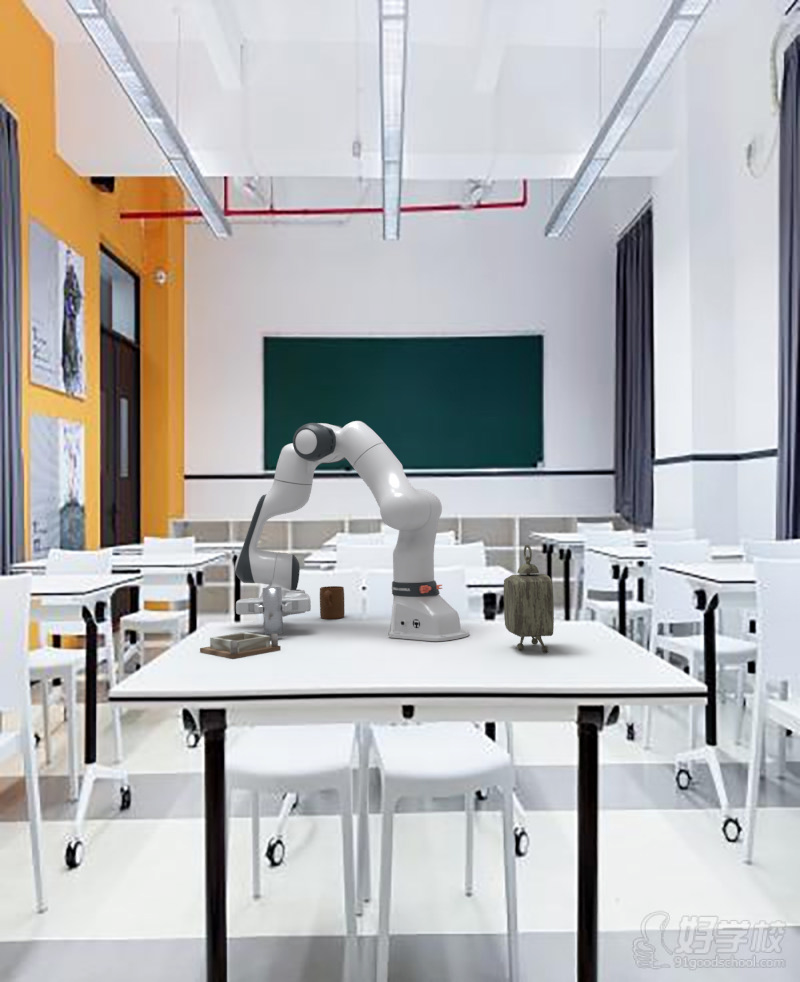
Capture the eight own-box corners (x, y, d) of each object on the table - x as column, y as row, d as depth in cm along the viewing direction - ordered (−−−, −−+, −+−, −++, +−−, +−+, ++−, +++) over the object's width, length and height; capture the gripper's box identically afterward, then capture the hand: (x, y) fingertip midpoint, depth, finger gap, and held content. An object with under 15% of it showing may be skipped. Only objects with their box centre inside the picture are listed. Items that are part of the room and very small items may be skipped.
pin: (286, 632, 228) (285, 587, 228) (271, 635, 224) (270, 589, 224) (275, 630, 231) (273, 586, 231) (260, 633, 227) (258, 588, 228)
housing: (280, 650, 211) (280, 633, 211) (233, 658, 201) (232, 641, 201) (246, 644, 220) (246, 628, 220) (200, 652, 210) (199, 635, 210)
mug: (338, 621, 256) (338, 590, 256) (314, 621, 257) (313, 590, 257) (346, 615, 268) (346, 585, 268) (323, 616, 269) (322, 586, 269)
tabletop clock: (554, 654, 197) (552, 546, 197) (516, 655, 197) (513, 547, 197) (540, 643, 212) (537, 542, 212) (504, 644, 211) (501, 543, 211)
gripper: (236, 593, 239) (232, 598, 226) (310, 589, 242) (310, 595, 228) (237, 615, 239) (233, 622, 226) (311, 611, 241) (311, 618, 228)
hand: (272, 608), depth 227 cm, fingers closed on pin, 5 cm apart
